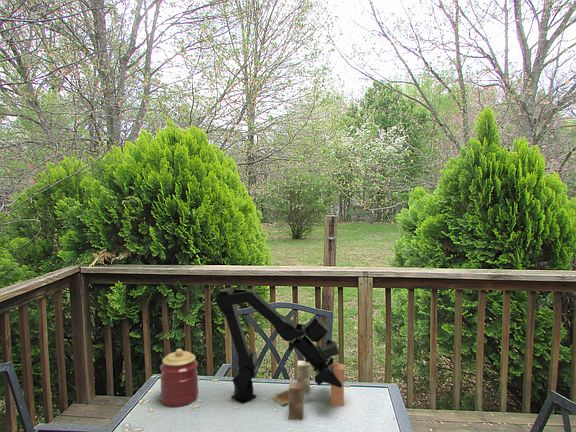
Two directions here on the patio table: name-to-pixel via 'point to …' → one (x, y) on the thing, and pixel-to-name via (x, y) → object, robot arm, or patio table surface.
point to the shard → (282, 398)
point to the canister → (179, 378)
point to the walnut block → (296, 401)
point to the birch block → (304, 375)
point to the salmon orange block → (337, 392)
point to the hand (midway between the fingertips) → (341, 383)
